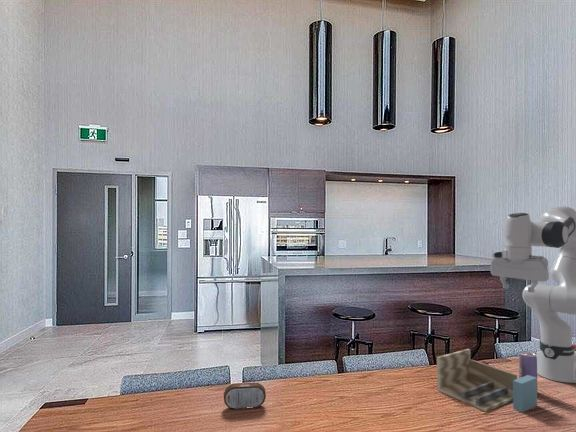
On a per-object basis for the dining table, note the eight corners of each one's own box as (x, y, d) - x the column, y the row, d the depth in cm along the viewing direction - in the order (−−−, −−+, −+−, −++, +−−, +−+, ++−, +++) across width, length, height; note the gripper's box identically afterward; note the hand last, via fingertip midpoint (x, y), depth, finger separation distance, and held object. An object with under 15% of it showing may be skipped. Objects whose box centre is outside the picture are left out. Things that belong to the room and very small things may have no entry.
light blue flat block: (528, 402, 137) (527, 374, 137) (537, 405, 134) (536, 377, 135) (513, 408, 132) (513, 380, 132) (522, 412, 129) (521, 383, 130)
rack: (468, 379, 157) (467, 348, 157) (516, 398, 140) (516, 364, 140) (437, 389, 147) (436, 357, 147) (485, 412, 129) (485, 374, 130)
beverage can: (540, 395, 142) (539, 356, 142) (523, 394, 143) (522, 355, 144) (533, 389, 148) (532, 351, 148) (516, 387, 149) (516, 350, 149)
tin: (265, 404, 135) (265, 381, 135) (266, 408, 132) (266, 384, 132) (223, 407, 132) (223, 383, 133) (223, 411, 129) (223, 387, 130)
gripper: (552, 256, 136) (552, 294, 136) (497, 252, 154) (497, 286, 153) (543, 256, 133) (543, 295, 133) (488, 253, 151) (488, 287, 150)
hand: (518, 290), depth 143 cm, fingers open, 8 cm apart
